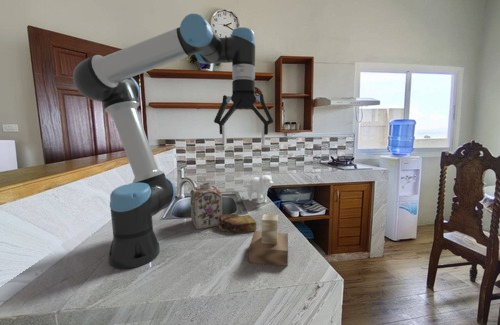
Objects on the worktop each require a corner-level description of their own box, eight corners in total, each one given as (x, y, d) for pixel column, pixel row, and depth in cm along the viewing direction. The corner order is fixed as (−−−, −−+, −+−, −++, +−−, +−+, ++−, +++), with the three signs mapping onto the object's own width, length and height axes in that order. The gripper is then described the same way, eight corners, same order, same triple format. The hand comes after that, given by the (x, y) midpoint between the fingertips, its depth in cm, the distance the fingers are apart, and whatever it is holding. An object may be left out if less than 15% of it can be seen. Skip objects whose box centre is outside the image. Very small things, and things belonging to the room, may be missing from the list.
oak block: (261, 243, 75) (261, 219, 74) (263, 236, 80) (263, 214, 79) (277, 244, 74) (277, 220, 73) (277, 237, 79) (278, 214, 78)
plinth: (249, 262, 73) (249, 247, 72) (254, 244, 84) (254, 231, 84) (287, 265, 71) (287, 250, 70) (287, 246, 83) (287, 233, 82)
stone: (252, 223, 104) (252, 212, 103) (256, 232, 95) (256, 220, 94) (219, 225, 102) (219, 214, 101) (219, 235, 93) (219, 222, 92)
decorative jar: (215, 216, 112) (214, 179, 109) (223, 225, 101) (222, 185, 99) (190, 220, 107) (189, 182, 104) (195, 230, 96) (194, 188, 94)
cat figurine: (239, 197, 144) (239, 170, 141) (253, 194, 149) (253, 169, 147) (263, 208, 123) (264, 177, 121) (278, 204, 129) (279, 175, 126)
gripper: (203, 79, 75) (205, 144, 78) (281, 76, 71) (279, 145, 74) (211, 83, 82) (212, 143, 85) (281, 81, 78) (280, 144, 81)
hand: (243, 144), depth 80 cm, fingers open, 13 cm apart
